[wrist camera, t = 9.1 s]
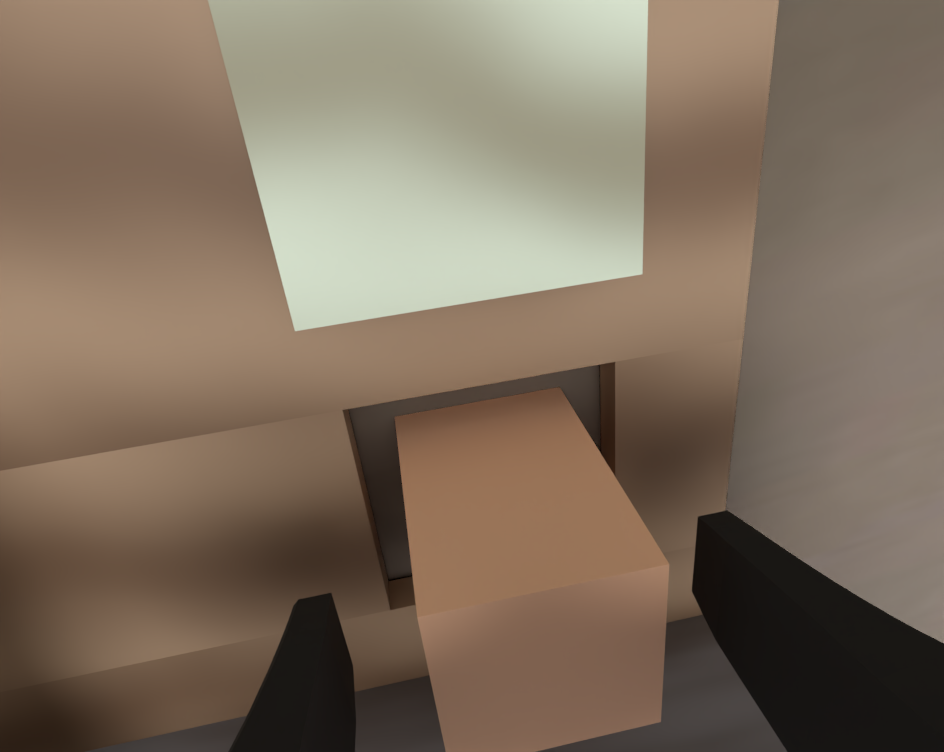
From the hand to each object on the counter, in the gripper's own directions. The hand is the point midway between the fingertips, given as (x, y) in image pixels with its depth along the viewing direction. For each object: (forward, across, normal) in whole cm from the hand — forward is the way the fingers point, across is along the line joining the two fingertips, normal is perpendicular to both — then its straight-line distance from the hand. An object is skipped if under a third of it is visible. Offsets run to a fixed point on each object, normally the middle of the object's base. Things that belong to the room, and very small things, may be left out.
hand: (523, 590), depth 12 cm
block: (+4, 0, 0) cm, 4 cm away
